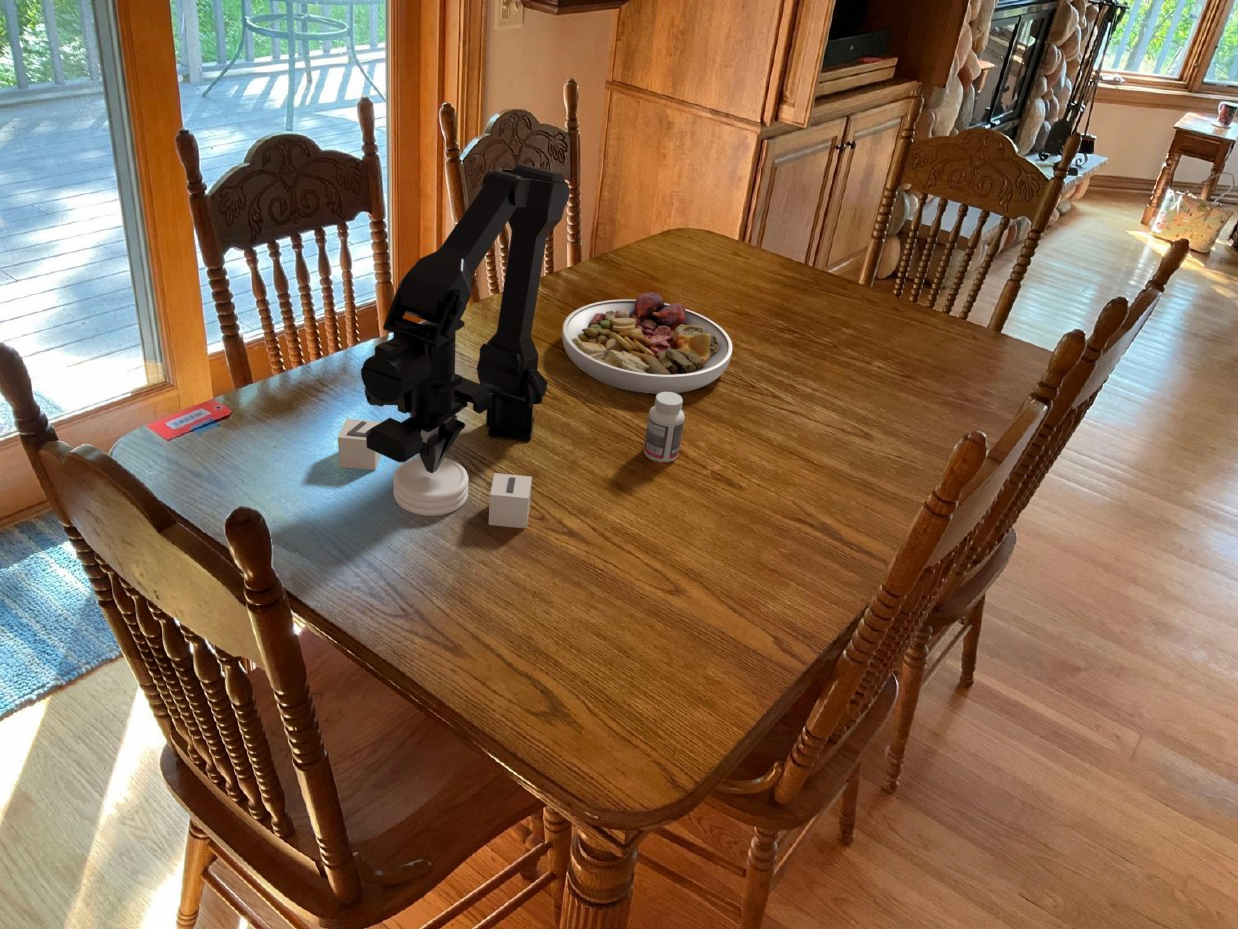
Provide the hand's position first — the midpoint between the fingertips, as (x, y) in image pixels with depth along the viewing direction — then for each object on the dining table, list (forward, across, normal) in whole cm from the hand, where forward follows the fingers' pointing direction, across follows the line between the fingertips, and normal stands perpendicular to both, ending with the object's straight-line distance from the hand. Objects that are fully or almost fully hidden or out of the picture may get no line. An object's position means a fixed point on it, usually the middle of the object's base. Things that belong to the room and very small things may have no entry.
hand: (431, 471), depth 131 cm
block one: (+4, -3, +11) cm, 12 cm away
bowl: (+4, -56, +2) cm, 56 cm away
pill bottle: (+4, -30, +20) cm, 36 cm away
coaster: (+4, 0, 0) cm, 4 cm away
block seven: (+4, -1, -13) cm, 14 cm away
